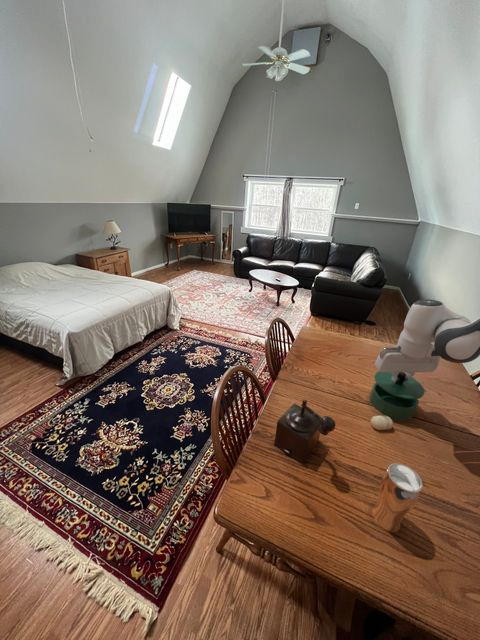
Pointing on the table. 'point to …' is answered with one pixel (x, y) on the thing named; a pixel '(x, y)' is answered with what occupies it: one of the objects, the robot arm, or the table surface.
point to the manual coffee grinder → (301, 431)
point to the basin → (392, 404)
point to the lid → (399, 385)
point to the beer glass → (396, 496)
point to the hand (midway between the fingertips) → (399, 380)
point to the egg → (381, 422)
